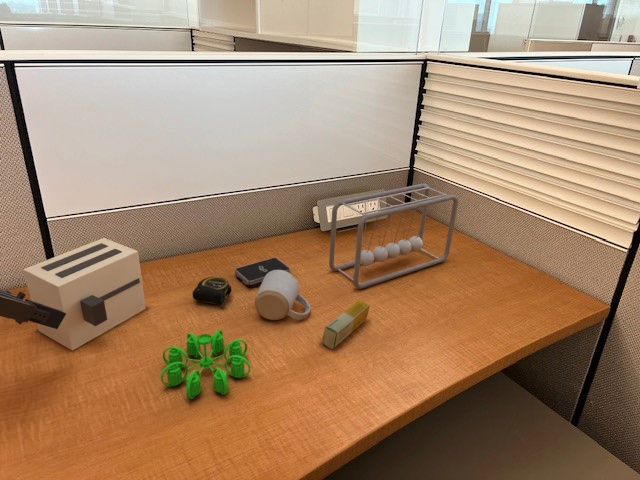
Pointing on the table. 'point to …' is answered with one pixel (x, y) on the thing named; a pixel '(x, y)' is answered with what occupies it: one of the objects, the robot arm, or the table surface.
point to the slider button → (93, 310)
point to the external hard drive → (259, 271)
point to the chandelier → (205, 363)
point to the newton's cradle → (391, 248)
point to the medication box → (345, 324)
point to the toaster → (87, 288)
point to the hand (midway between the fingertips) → (58, 319)
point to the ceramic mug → (279, 296)
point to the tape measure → (212, 290)
